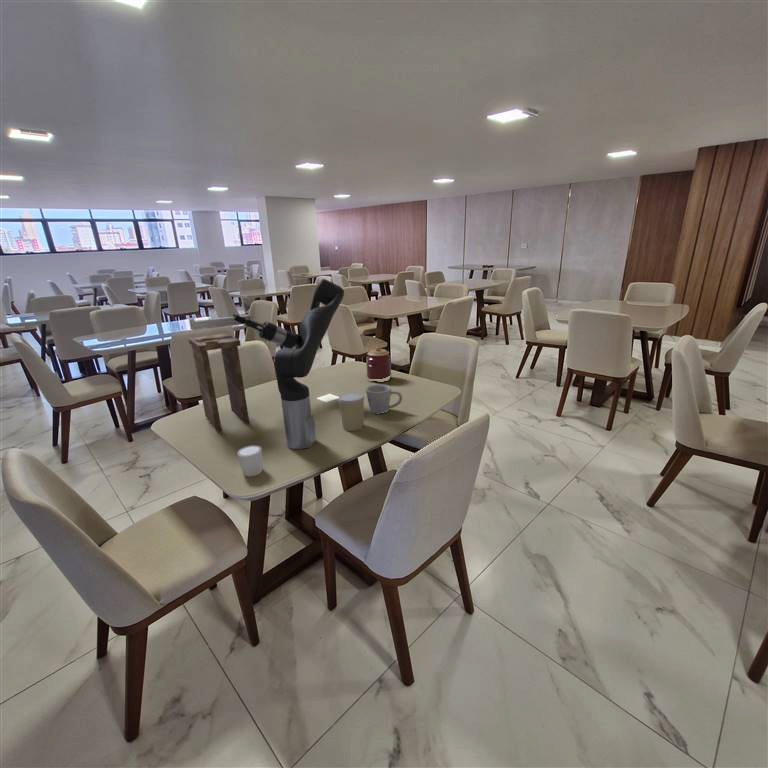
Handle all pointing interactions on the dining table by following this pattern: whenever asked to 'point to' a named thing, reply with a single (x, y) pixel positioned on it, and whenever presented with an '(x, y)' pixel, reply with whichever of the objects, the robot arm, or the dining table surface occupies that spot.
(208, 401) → the walnut stand
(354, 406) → the coffee cup
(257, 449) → the white ribbed cup
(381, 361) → the canister
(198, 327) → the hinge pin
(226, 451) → the dining table surface
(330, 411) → the dining table surface
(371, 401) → the mug
